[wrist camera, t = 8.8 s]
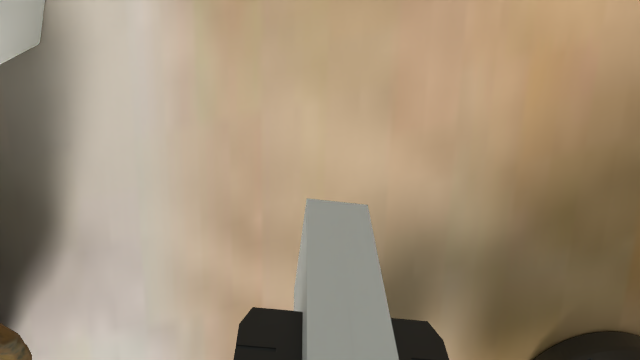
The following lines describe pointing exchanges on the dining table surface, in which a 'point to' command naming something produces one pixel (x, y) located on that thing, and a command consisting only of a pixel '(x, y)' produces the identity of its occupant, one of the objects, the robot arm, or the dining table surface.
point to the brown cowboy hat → (12, 345)
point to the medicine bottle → (19, 26)
